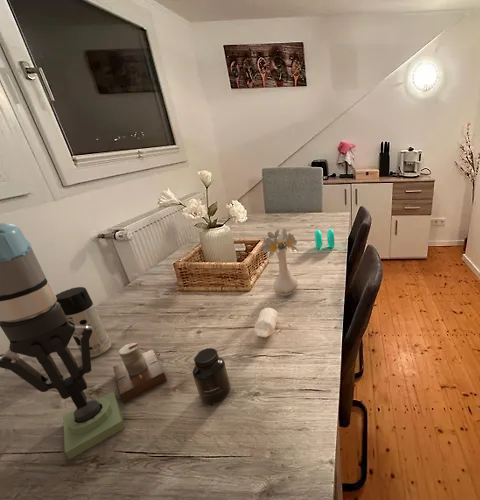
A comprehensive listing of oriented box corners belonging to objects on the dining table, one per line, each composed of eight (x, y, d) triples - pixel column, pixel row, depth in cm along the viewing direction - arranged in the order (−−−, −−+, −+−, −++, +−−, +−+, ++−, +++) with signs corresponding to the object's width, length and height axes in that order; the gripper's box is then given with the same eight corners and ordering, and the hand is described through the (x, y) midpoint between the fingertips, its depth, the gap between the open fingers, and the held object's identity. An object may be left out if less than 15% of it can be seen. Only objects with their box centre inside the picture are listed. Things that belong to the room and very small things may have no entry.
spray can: (78, 355, 82) (46, 297, 74) (104, 340, 87) (77, 284, 80) (91, 361, 79) (60, 301, 71) (117, 345, 85) (91, 288, 77)
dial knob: (130, 378, 70) (119, 355, 67) (127, 369, 72) (116, 347, 69) (148, 369, 72) (139, 347, 69) (145, 361, 75) (136, 339, 72)
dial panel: (116, 375, 74) (112, 366, 73) (155, 356, 80) (152, 348, 79) (124, 403, 67) (120, 394, 65) (167, 380, 72) (163, 371, 71)
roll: (252, 346, 83) (249, 331, 81) (261, 321, 94) (258, 307, 92) (273, 345, 83) (270, 330, 81) (279, 320, 94) (276, 306, 92)
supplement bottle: (211, 410, 64) (199, 371, 59) (194, 397, 68) (181, 359, 63) (237, 388, 70) (227, 351, 65) (220, 377, 73) (209, 341, 68)
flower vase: (300, 278, 121) (294, 222, 111) (304, 301, 104) (297, 238, 95) (269, 282, 118) (260, 226, 108) (268, 306, 102) (257, 243, 92)
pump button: (76, 414, 60) (72, 408, 60) (100, 402, 63) (97, 396, 62) (77, 426, 58) (74, 421, 57) (102, 413, 60) (99, 408, 60)
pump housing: (67, 422, 62) (59, 410, 61) (117, 397, 68) (111, 385, 67) (69, 459, 55) (60, 447, 54) (125, 427, 61) (118, 415, 59)
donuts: (316, 244, 156) (314, 227, 152) (333, 243, 157) (333, 226, 153) (316, 251, 147) (314, 233, 143) (334, 250, 148) (334, 232, 144)
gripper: (76, 288, 56) (117, 375, 66) (-25, 317, 48) (38, 412, 57) (79, 303, 51) (123, 394, 61) (-34, 338, 43) (37, 438, 52)
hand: (82, 403), depth 59 cm, fingers closed
